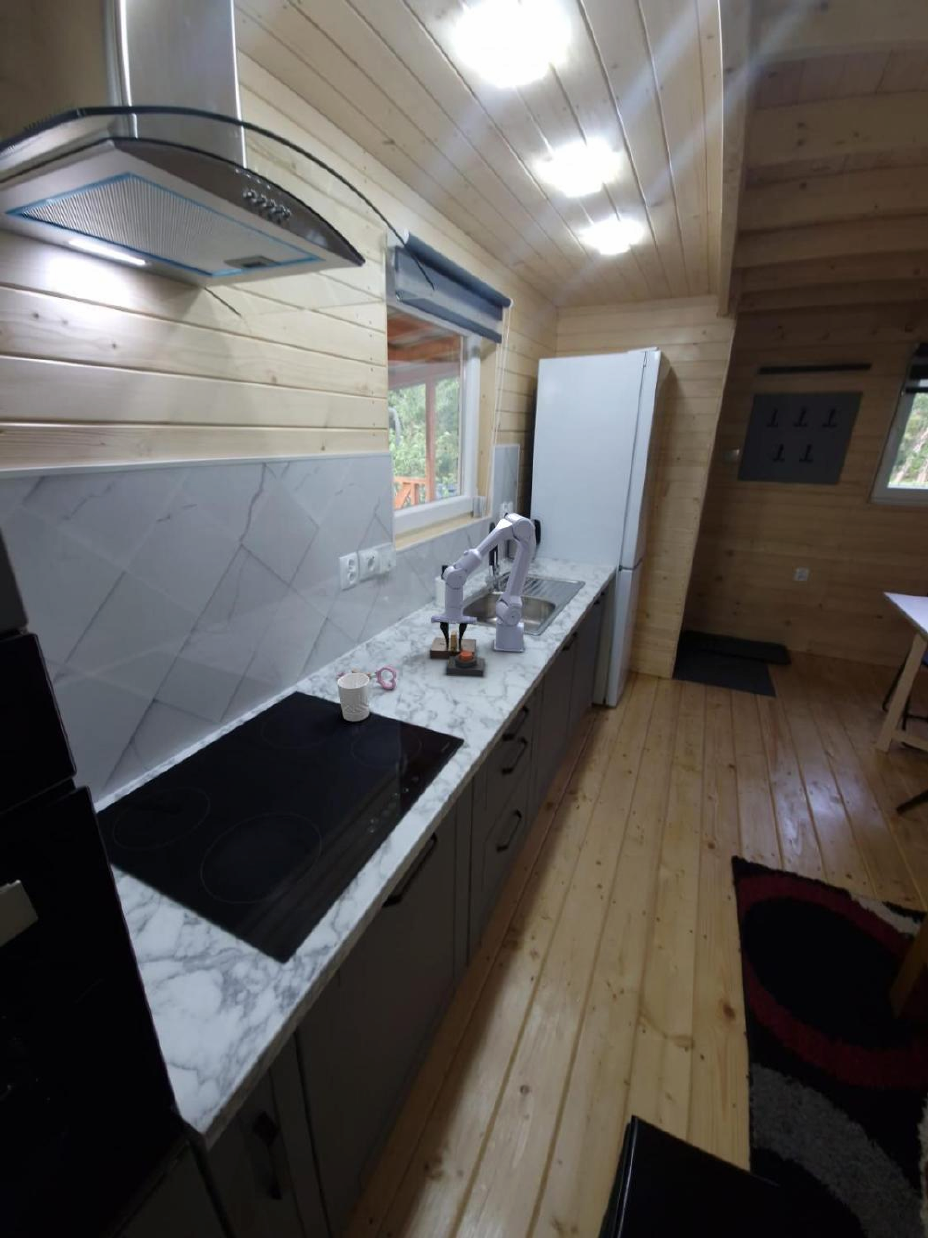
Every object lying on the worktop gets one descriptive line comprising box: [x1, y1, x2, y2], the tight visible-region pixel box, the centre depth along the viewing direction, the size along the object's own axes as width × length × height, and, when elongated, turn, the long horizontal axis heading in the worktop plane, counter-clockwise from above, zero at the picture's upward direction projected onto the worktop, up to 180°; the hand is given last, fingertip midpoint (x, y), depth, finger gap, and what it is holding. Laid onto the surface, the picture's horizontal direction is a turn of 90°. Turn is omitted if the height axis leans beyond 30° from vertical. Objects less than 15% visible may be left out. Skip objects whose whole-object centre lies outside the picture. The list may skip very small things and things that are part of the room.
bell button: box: [460, 651, 472, 661], centre depth 150 cm, size 4×4×2 cm
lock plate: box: [429, 636, 477, 660], centre depth 161 cm, size 14×10×3 cm
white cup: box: [336, 672, 371, 722], centre depth 126 cm, size 8×8×10 cm
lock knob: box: [450, 629, 458, 647], centre depth 160 cm, size 5×2×4 cm, turn 175°
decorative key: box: [336, 665, 397, 690], centre depth 142 cm, size 7×1×20 cm
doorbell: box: [446, 654, 486, 677], centre depth 151 cm, size 11×8×4 cm
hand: (453, 643), depth 161 cm, fingers open, 3 cm apart
